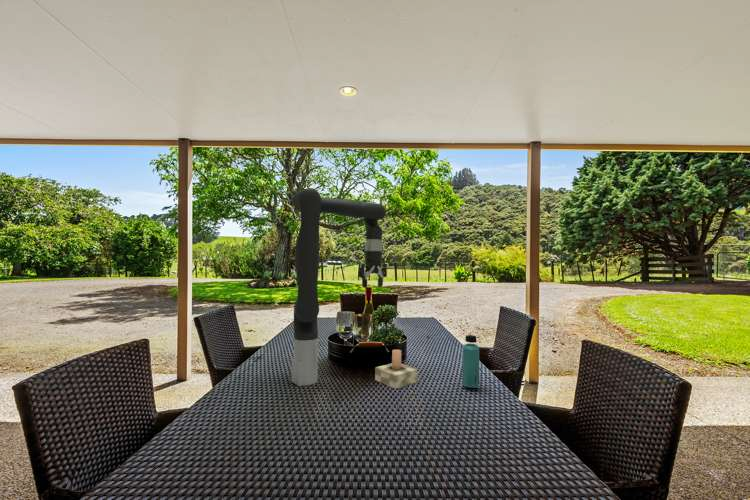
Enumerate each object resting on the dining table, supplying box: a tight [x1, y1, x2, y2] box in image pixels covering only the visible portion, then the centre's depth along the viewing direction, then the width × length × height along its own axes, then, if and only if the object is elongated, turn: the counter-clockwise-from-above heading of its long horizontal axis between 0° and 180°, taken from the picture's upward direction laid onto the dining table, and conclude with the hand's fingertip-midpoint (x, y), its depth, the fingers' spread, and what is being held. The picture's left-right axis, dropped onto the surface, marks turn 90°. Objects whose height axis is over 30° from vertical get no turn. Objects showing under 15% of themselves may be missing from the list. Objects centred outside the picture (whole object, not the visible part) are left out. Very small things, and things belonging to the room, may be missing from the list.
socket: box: [374, 362, 419, 390], centre depth 147 cm, size 12×12×5 cm
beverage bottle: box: [461, 334, 481, 388], centre depth 140 cm, size 6×7×20 cm
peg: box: [391, 349, 402, 371], centre depth 147 cm, size 4×4×12 cm
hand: (372, 287), depth 161 cm, fingers open, 8 cm apart
